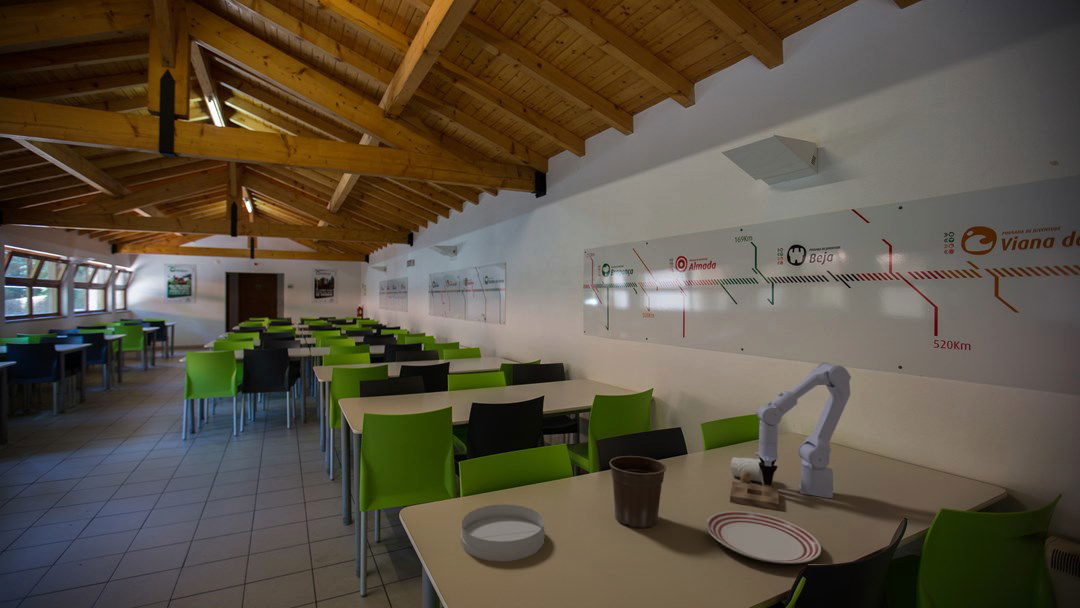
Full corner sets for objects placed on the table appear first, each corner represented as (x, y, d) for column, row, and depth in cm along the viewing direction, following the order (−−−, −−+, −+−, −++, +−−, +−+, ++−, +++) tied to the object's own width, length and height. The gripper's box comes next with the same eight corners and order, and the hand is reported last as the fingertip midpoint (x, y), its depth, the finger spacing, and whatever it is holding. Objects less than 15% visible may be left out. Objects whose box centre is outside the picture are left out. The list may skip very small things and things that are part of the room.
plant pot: (644, 504, 152) (645, 453, 152) (677, 527, 137) (678, 469, 137) (598, 511, 146) (599, 458, 146) (627, 536, 131) (628, 476, 131)
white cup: (731, 481, 177) (760, 486, 171) (729, 461, 176) (758, 466, 170) (737, 471, 183) (765, 475, 177) (734, 451, 182) (763, 455, 176)
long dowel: (772, 489, 167) (772, 468, 167) (772, 492, 164) (773, 471, 164) (762, 487, 168) (762, 467, 168) (762, 490, 165) (762, 470, 165)
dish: (466, 568, 114) (466, 546, 114) (455, 526, 136) (456, 508, 136) (555, 555, 121) (556, 535, 121) (532, 517, 142) (532, 500, 142)
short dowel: (750, 483, 172) (750, 472, 172) (750, 486, 169) (750, 475, 169) (740, 482, 173) (740, 471, 173) (740, 485, 170) (740, 473, 170)
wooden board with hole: (777, 494, 162) (777, 488, 162) (778, 510, 149) (778, 503, 149) (732, 487, 168) (732, 481, 168) (730, 501, 155) (730, 495, 155)
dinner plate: (821, 537, 133) (821, 525, 133) (820, 586, 109) (820, 572, 109) (716, 513, 147) (716, 502, 147) (695, 553, 123) (695, 539, 123)
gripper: (755, 434, 174) (754, 472, 174) (755, 445, 161) (754, 486, 161) (777, 437, 171) (776, 475, 171) (778, 448, 158) (777, 489, 158)
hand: (767, 481), depth 166 cm, fingers open, 7 cm apart
